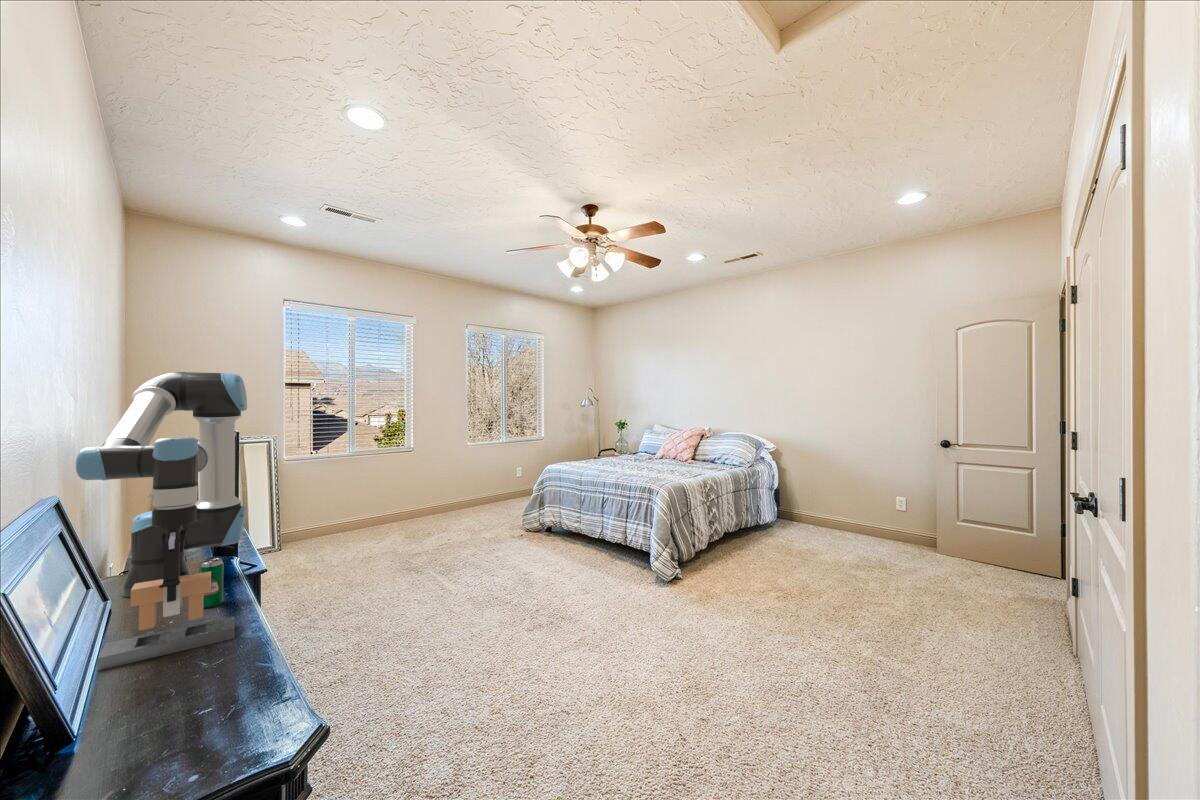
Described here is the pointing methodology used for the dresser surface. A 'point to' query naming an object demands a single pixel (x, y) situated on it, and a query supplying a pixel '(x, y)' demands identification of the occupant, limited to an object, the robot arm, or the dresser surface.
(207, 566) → the soda can
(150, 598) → the wooden arch block
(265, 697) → the dresser surface
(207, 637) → the rail
